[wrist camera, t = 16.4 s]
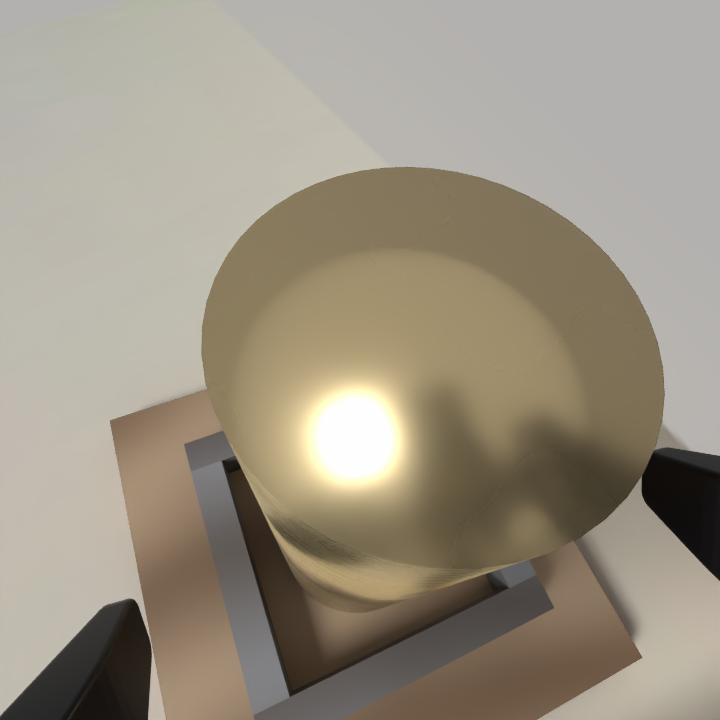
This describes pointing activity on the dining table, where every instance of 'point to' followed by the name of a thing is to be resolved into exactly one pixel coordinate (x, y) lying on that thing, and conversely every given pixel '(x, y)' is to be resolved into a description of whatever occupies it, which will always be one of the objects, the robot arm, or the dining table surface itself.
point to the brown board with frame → (328, 626)
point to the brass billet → (427, 381)
